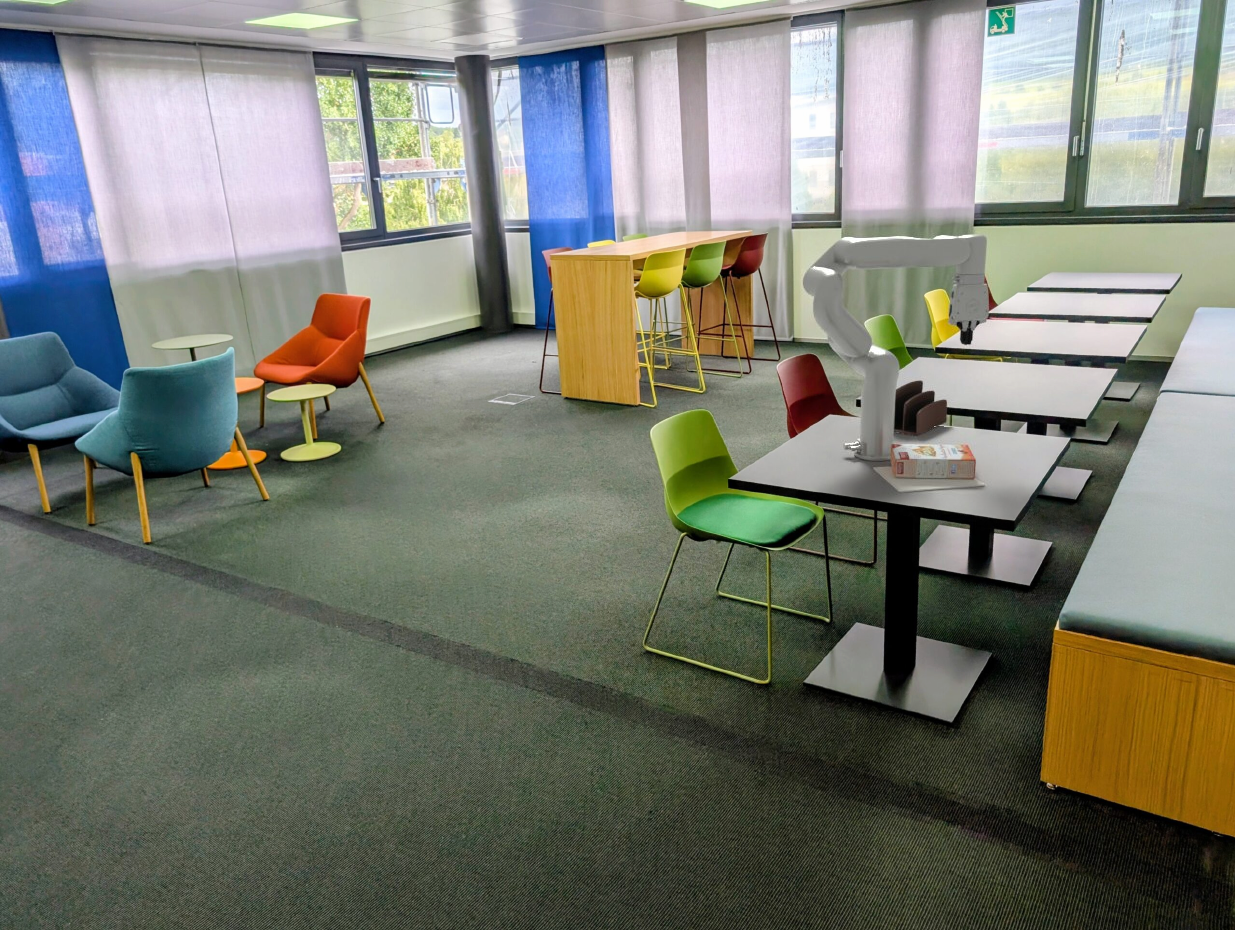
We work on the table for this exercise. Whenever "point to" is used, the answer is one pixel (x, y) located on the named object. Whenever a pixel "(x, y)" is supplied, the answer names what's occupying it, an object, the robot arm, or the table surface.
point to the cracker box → (932, 461)
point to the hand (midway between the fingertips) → (965, 343)
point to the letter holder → (917, 409)
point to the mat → (924, 482)
